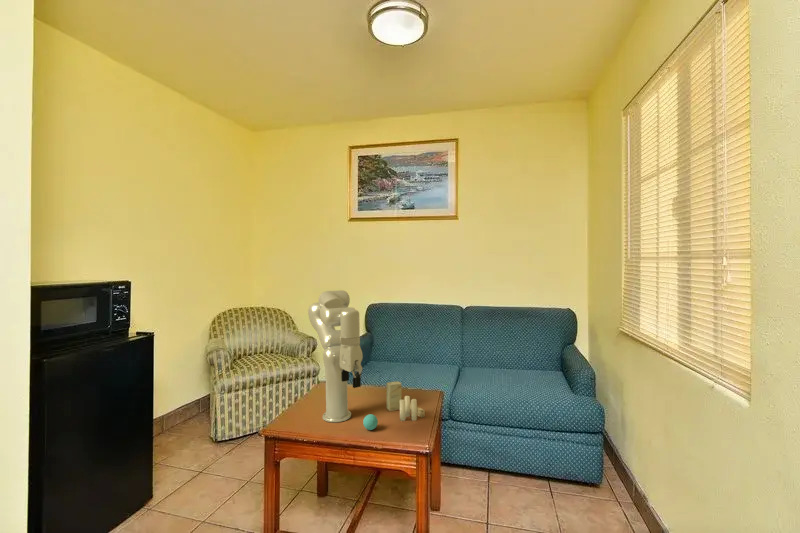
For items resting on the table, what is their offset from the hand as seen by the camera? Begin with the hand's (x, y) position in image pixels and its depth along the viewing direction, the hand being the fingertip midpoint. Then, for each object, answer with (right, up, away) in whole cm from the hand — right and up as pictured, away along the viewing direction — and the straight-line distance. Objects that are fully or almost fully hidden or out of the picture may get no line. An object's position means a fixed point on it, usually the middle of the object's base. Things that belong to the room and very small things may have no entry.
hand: (350, 383), depth 148 cm
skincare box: (+17, -20, +27) cm, 38 cm away
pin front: (+21, -20, +14) cm, 32 cm away
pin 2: (+26, -20, +14) cm, 36 cm away
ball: (+7, -17, +5) cm, 19 cm away
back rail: (+27, -20, +21) cm, 40 cm away
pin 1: (+23, -20, +18) cm, 36 cm away
